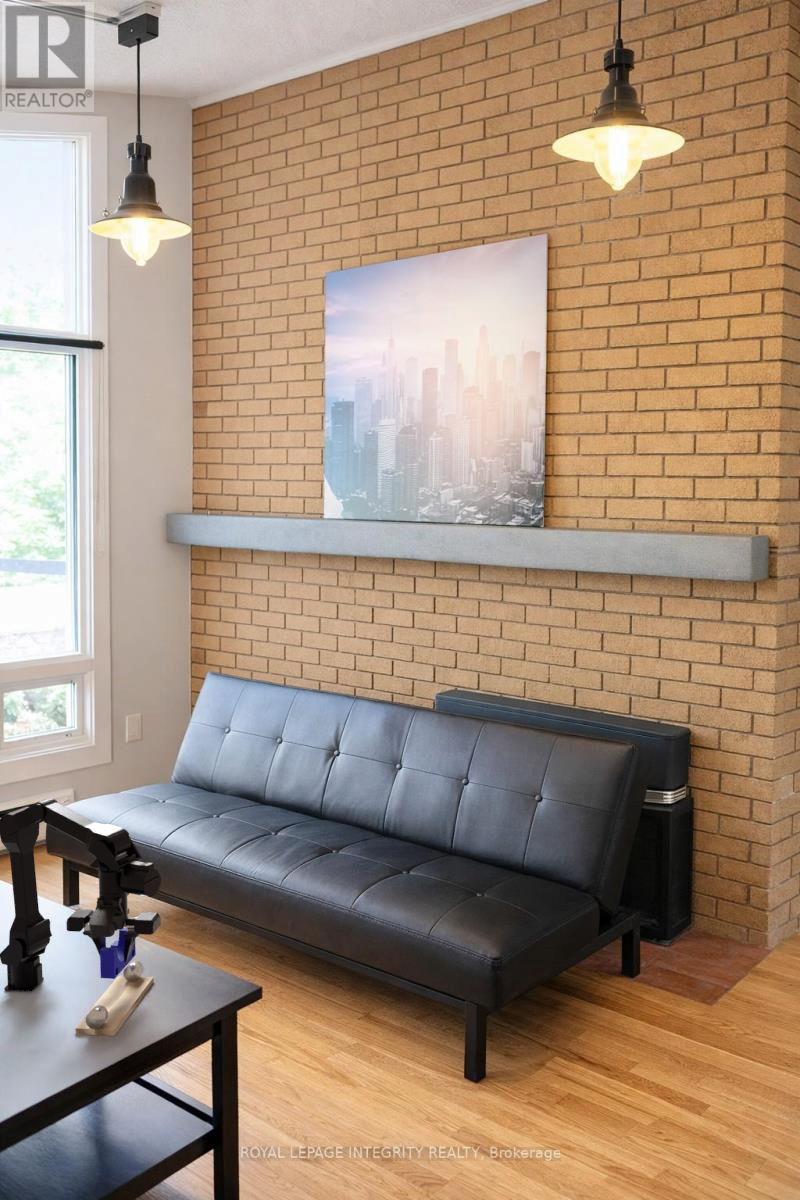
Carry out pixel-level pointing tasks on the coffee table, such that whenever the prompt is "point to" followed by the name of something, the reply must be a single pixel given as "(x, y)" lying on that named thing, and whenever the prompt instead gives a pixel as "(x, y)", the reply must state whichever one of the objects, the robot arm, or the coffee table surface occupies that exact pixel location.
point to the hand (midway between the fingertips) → (114, 960)
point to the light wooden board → (117, 1004)
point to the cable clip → (114, 957)
